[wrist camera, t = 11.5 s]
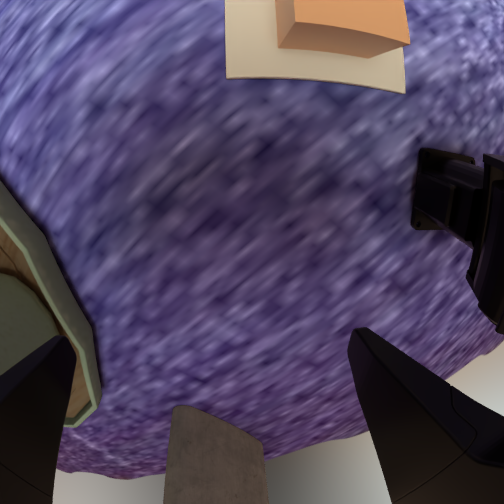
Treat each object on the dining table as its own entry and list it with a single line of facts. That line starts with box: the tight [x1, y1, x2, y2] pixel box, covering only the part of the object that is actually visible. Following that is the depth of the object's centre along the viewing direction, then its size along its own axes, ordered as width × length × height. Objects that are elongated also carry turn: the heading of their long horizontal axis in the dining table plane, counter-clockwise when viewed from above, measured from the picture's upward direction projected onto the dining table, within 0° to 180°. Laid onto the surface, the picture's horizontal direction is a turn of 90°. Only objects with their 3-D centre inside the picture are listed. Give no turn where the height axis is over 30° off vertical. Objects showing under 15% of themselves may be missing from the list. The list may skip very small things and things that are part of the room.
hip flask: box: [163, 405, 269, 504], centre depth 22 cm, size 16×4×20 cm, turn 37°
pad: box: [225, 0, 405, 94], centre depth 12 cm, size 12×10×1 cm
